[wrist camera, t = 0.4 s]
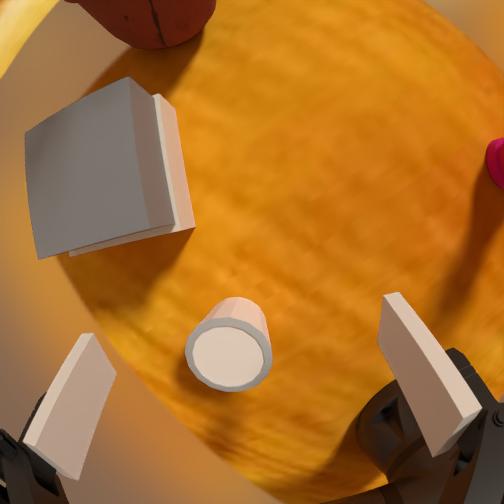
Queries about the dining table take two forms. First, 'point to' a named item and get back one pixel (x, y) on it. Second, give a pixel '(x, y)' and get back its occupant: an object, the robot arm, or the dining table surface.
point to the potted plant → (150, 20)
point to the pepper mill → (496, 161)
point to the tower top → (97, 171)
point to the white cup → (230, 346)
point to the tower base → (174, 180)
